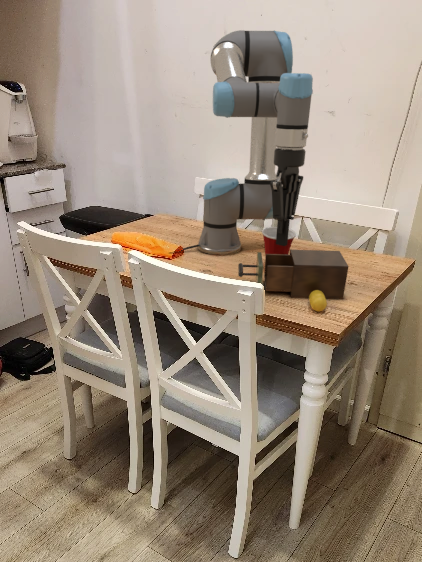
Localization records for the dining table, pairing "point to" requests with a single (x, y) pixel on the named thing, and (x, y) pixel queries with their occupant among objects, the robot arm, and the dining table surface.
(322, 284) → the cabinet
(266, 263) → the drawer
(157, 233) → the dining table surface
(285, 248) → the plastic cup
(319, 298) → the yellow oval piece
